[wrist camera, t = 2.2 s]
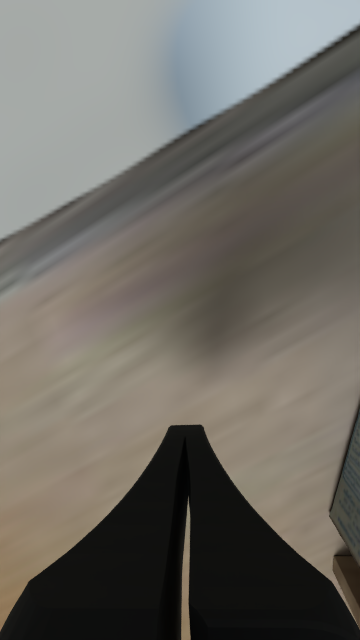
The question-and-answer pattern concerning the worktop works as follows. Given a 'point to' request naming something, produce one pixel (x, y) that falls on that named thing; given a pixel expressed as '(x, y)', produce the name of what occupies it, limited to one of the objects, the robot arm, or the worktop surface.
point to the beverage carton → (349, 498)
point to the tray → (349, 582)
